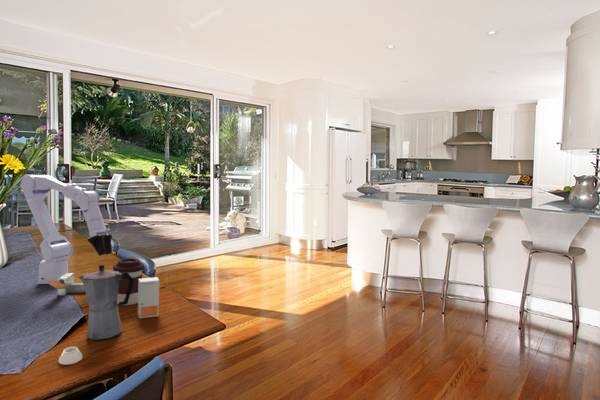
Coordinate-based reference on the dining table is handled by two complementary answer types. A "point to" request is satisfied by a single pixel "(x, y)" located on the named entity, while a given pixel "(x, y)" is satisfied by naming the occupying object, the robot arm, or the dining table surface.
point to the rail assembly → (70, 284)
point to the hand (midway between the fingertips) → (105, 254)
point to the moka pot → (104, 302)
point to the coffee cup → (135, 272)
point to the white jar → (70, 356)
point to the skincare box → (148, 297)
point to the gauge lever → (57, 284)
